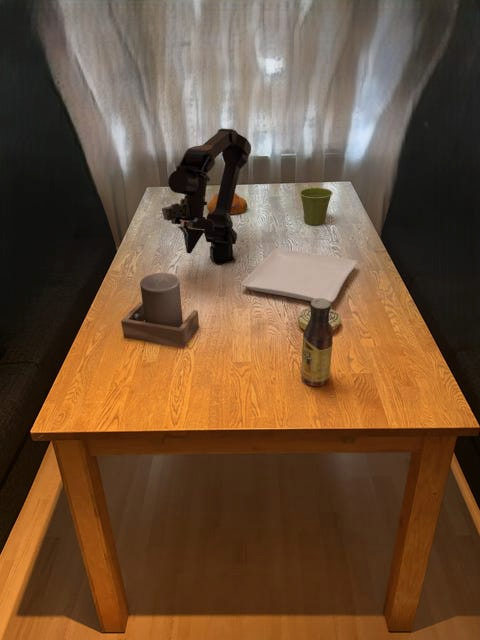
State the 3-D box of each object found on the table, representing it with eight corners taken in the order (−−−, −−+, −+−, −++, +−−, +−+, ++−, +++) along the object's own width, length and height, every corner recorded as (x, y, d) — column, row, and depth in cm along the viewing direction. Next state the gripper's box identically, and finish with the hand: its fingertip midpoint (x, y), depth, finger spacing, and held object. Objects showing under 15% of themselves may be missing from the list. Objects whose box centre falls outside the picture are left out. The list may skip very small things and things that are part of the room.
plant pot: (336, 219, 196) (338, 190, 190) (322, 230, 188) (324, 199, 182) (307, 214, 202) (308, 185, 196) (292, 224, 193) (293, 194, 187)
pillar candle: (138, 334, 134) (131, 282, 126) (158, 315, 141) (152, 264, 133) (172, 342, 131) (166, 289, 123) (190, 322, 138) (186, 271, 130)
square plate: (358, 270, 161) (359, 258, 159) (332, 313, 141) (333, 300, 139) (275, 256, 172) (275, 245, 169) (239, 294, 151) (239, 282, 149)
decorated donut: (348, 325, 135) (349, 312, 133) (323, 343, 129) (324, 330, 127) (314, 311, 141) (315, 299, 139) (289, 327, 135) (290, 315, 133)
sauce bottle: (298, 371, 119) (301, 294, 108) (325, 369, 119) (331, 292, 109) (303, 390, 113) (307, 310, 103) (332, 387, 114) (339, 308, 103)
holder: (142, 318, 140) (139, 301, 138) (199, 327, 136) (197, 310, 133) (123, 337, 133) (121, 321, 130) (183, 348, 128) (182, 331, 125)
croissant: (246, 221, 203) (248, 201, 199) (205, 217, 202) (207, 197, 198) (246, 207, 215) (248, 188, 211) (208, 203, 215) (209, 184, 210)
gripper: (156, 191, 149) (151, 247, 152) (177, 193, 133) (171, 254, 136) (193, 197, 154) (187, 250, 157) (218, 198, 138) (211, 258, 141)
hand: (188, 253), depth 148 cm, fingers closed
